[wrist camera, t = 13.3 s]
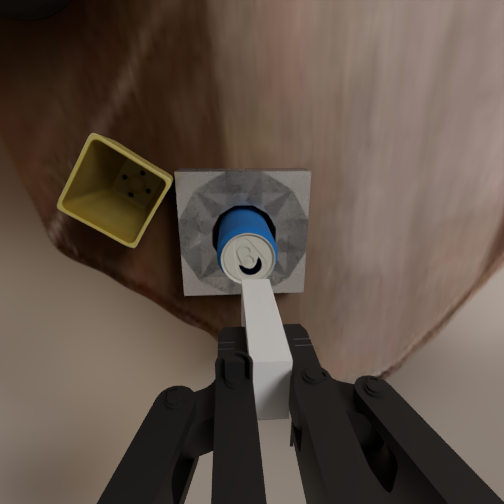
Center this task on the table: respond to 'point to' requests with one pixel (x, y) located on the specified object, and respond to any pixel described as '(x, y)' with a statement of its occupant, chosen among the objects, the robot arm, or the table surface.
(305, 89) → the table surface
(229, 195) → the jig
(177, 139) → the table surface
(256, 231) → the beverage can
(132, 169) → the flower pot
